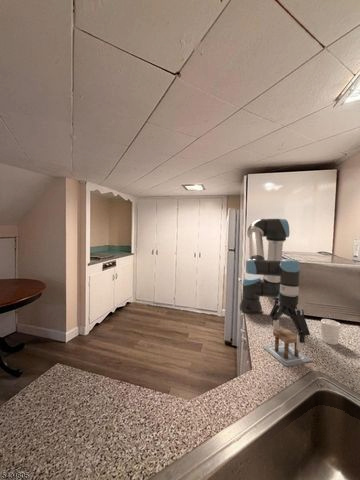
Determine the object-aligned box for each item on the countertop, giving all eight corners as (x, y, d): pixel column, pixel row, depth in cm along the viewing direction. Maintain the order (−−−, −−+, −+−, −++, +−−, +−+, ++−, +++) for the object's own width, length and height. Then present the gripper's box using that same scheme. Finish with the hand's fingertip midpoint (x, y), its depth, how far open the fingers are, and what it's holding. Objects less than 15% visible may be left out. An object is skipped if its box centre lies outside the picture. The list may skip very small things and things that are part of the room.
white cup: (339, 347, 98) (340, 327, 98) (319, 342, 103) (320, 322, 102) (339, 340, 104) (340, 321, 104) (320, 335, 109) (321, 317, 109)
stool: (272, 349, 94) (273, 330, 94) (286, 347, 97) (287, 328, 96) (286, 360, 87) (286, 339, 86) (300, 357, 89) (301, 337, 89)
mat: (262, 347, 96) (262, 346, 96) (286, 343, 100) (286, 342, 100) (285, 366, 83) (286, 365, 83) (312, 361, 87) (312, 360, 87)
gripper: (262, 287, 101) (261, 328, 102) (306, 304, 78) (304, 358, 78) (275, 286, 104) (273, 327, 104) (321, 302, 80) (319, 355, 80)
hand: (286, 340), depth 91 cm, fingers open, 13 cm apart
